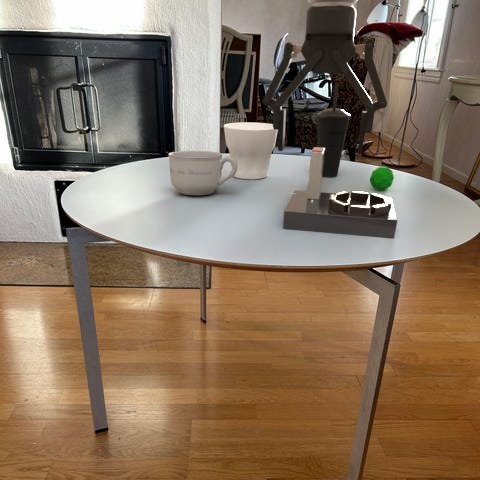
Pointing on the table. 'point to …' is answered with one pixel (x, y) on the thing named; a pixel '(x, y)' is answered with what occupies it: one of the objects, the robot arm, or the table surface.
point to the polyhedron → (381, 178)
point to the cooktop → (334, 218)
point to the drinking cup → (332, 136)
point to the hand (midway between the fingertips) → (319, 151)
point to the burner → (359, 204)
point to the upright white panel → (315, 173)
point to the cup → (250, 147)
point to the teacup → (198, 171)
